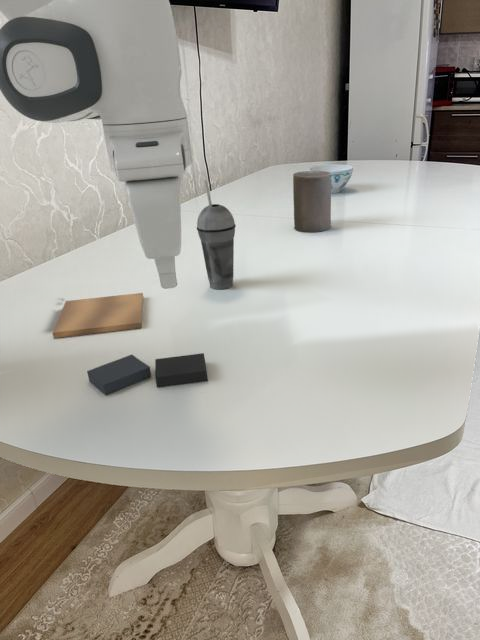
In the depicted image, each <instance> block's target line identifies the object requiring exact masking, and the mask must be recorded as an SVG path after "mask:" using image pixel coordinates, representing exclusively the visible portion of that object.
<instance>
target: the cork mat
mask: <svg viewBox="0 0 480 640" xmlns="http://www.w3.org/2000/svg"><path fill="white" fill-rule="evenodd" d="M144 298H145V297H144V293H143V292H136V293H127V294H119V295H110V296H99V297H92V298H82V299H81V298H79V299H73V300H72V299H71V300H66V301H65V302H64V304H63V307H62V309H61V311H60V313H59V315H58V318H57V321H56V322H55V323H56V324H55V326H54V327H53V330H52V337H53V339H59V338H67V337H76V336H85V335H95V334H102V333H111V332H118V331H119V332H120V331H128V330H136V329H142V325H143V312H144V311H143V309H144Z"/></svg>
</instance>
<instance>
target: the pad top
mask: <svg viewBox="0 0 480 640" xmlns="http://www.w3.org/2000/svg"><path fill="white" fill-rule="evenodd" d="M151 371H152V370H151V367H150V366H149V365H148V364H146V363H145V362H143V361H142V360H141V359H139V358H138V357H136V355H134V354H130V355H129V354H128V355H125V356H124V357H121V358H118V359H115V360H113V361H110V362H108V363H105V364H102V365H100V366H97V367H94V368H91V369H89V370H87V371H86V373H87V377H88V381H89V383H90V384H92V385H93V386H94V388H96V389H97V390H98V391H99V392H101V393H102V394H103V395H104V396H105V397H107V396H109V395H112V394H114V393H117V392H119V391H122V390H124V389H126V388H129V387H132V386H133V385H136V384H139V383H141V382H143V381H146V380H148V379H151V378H152V372H151Z"/></svg>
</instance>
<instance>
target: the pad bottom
mask: <svg viewBox="0 0 480 640" xmlns="http://www.w3.org/2000/svg"><path fill="white" fill-rule="evenodd" d="M154 363H155V364H154V365H155V367H154V380H155V383H156V384H155V385H156V388H158V389H159V388H167V387H176V386H182V385H190V384H197V383H198V384H199V383H205V382H209V379H208V378H209V377H208V369H207V364H206V358H205V353H204V352H202V353H201V352H200V353H193V354H187V355H186V354H185V355H178V356H169V357H162V358H161V357H160V358H155V360H154Z"/></svg>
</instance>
